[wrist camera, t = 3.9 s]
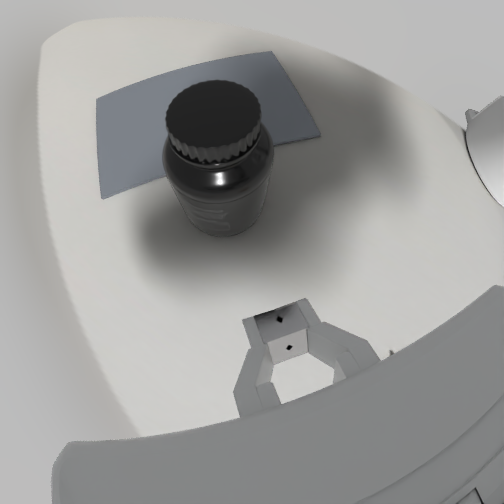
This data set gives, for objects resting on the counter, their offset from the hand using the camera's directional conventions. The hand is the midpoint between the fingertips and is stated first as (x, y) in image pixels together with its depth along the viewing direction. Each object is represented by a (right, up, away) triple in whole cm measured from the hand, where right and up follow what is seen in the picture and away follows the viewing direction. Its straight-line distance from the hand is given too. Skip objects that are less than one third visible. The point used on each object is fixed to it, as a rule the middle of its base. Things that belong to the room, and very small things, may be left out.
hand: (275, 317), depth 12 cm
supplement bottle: (-3, +7, +12) cm, 14 cm away
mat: (-7, +18, +13) cm, 23 cm away
